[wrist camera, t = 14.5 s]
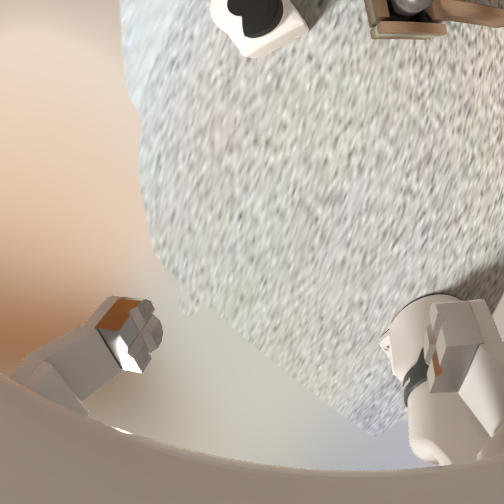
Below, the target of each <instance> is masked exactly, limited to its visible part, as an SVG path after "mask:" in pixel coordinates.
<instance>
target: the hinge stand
mask: <svg viewBox="0 0 504 504" xmlns="http://www.w3.org/2000/svg"><path fill="white" fill-rule="evenodd" d="M364 3H365V7H366V11H367V16H368V21H369V26H370V27H374V28H373V29H372V30H371V36H372V39H418V40H426V39H430V38H434V37H437V36H441V35H445V34H447V30H446V25H445V24H437V22H440V21H442V20H446V21H455V22H463V23H470V24H476V25H482V26H488V27H493V28H500V27H504V9H499V8H495V7H490V6H485V5H480V4H475V3H469V2H463V1H456V0H434V2H433V3H432V4H431V5H430V6H428V7H426V8H425V9H423V10H422V11H420V12H418V13H417V14H415V15H414V16H413V18H414V22H401V21H385V20H386V19H388V18H389V17H390V15H389V11H388V6H387V2H386V0H364Z"/></svg>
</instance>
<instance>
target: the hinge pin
mask: <svg viewBox="0 0 504 504" xmlns="http://www.w3.org/2000/svg"><path fill="white" fill-rule="evenodd" d="M386 2H387V6H388V11H389V15H390V17H389V18H388V19H386V20H385V21H401V22H404V21H406V20H407V19H409V18H411V17H412V16H414V15H415V14H417V13H418V12H420V11H422V10H423V9H425V8H426V7H428V6H430V5H431V4H432V3H433V2H434V0H387V1H386Z"/></svg>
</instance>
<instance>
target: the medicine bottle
mask: <svg viewBox="0 0 504 504" xmlns="http://www.w3.org/2000/svg"><path fill="white" fill-rule="evenodd" d="M209 9H210V11H211V16H212V18H213V20H214V22H215V23H216V25H217V26H218V27H219V28H220V29H222V30H223V31H225V32H227V34H228V35H229V36H230V38H231V39H232V40H233V42H234V43H235V45H236V46H237V47H238V49H239V50H240V52H241V53H242V54H243V56H245V57H252V58H258V59H261V58H263V57H264V56H266V55H268V54H270V53H271V52H273V51H275V50H277V49H278V48H280V47H282V46H284V45H285V44H287V43H289V42H291V41H293V40H295V39H297V38H298V37H300V36H302V35H304V34H306V33H308V32H309V28H308V26H307V24H306V22H305V20H304V19H303V18H302V16H301V15H300V13H299V12H298V11H297V9H296V8H295V7H294V5H293V4H292V3H291V1H290V0H211V4H210V6H209Z"/></svg>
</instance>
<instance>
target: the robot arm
mask: <svg viewBox="0 0 504 504" xmlns="http://www.w3.org/2000/svg"><path fill="white" fill-rule="evenodd" d="M153 313H154V307H153V305H152V303H151V301H149V300H147V299H139V298H129V297H117V296H111V297H108V298H107V299H106V300H105V301H104V302H103V303H102V304H101V305H100V307H99V308H98V309H97V310H96V311H95V312H94V314H93V315H92V316H91V317H90V318H89V319H88V321H87V322H86V323H85V324H84V325H83V326H79V327H77V328H75V329H73V330H71V331H69V332H68V333H66V334H64V335H62V336H60V337H58V338H56V339H55V340H53V341H51V342H49V343H47V344H45V345H44V346H42V347H40V348H38V349H36V350H35V351H33V352H31V353H29V354H28V355H27V356H26V357H25V359H24V360H23V361H22V362H21V364H20V365H19V366H18V367H17V368H16V370H15V371H14V372H13V373H12V375H11V376H10V377H9V378H8V377H6V376H4V375H3V374H1V373H0V504H504V342H502V340H501V337H500V335H499V333H498V330H497V327H496V325H495V323H494V320H493V318H492V315H491V313H490V311H489V308H488V306H487V304H486V302H485V301H484V300H483V299H475V300H466V301H461V300H459V299H458V298H456V297H453V296H450V295H431V296H427V297H423V298H421V299H418V300H416V301H414V302H412V303H411V304H409V305H408V306H406V307H405V308H404V309H403V310H402V311H401V312H400V313H399V314H398V315H397V316H396V318H395V319H394V321H393V323H392V325H391V327H390V329H389V330H388V331H387V332H386V333H385V334H384V335H383V336H382V337H381V338H380V339H379V343H380V346H381V348H382V349H383V350H384V352H385V353H386V354H387V356H388V357H389V358H390V360H391V363H392V371H393V374H394V375H396V377H397V378H398V379H399V380H400V381H401V382H402V383H403V397H404V401H405V405H406V407H407V408H408V424H409V445H410V448H411V450H412V451H413V453H414V454H415V455H416V456H418V457H419V458H420V459H422V460H424V461H427V462H430V463H436V464H440V466H435V467H426V468H415V469H402V470H380V471H340V470H318V469H304V468H292V467H284V466H275V465H267V464H260V463H253V462H247V461H241V460H235V459H229V458H225V457H220V456H215V455H210V454H205V453H200V452H197V451H192V450H188V449H184V448H180V447H176V446H173V445H169V444H166V443H162V442H159V441H155V440H152V439H149V438H145V437H142V436H139V435H136V434H133V433H130V432H127V431H124V430H121V429H118V428H116V427H113V426H110V425H108V424H105V423H102V422H100V421H97V420H95V419H92V418H90V417H87V415H88V414H89V412H88V409H87V408H86V407H85V405H84V404H83V403H82V401H83V400H85V399H86V398H87V397H88V396H90V395H91V394H92V393H94V392H95V391H96V390H98V389H99V388H100V387H101V386H103V385H104V384H105V383H107V382H108V381H109V380H110V379H112V378H113V377H114V376H116V375H117V374H118V373H120V372H121V371H122V369H123V370H128V371H133V372H138V373H143V371H144V370H145V368H146V366H147V365H148V363H149V361H150V360H151V352H152V351H154V350H155V349H157V348H158V347H159V345H160V343H161V341H162V336H163V330H162V325H161V323H160V320H159V319H158V318H157V317H155V316H154V315H153Z"/></svg>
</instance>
